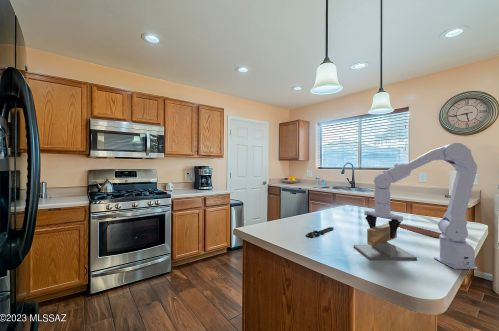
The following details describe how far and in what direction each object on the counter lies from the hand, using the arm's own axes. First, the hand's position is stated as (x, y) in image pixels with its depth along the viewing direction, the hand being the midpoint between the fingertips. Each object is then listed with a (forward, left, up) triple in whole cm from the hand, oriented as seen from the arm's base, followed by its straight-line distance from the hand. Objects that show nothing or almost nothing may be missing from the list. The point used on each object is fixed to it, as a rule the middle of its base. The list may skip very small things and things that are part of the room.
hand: (382, 235), depth 95 cm
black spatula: (+30, +16, -8) cm, 35 cm away
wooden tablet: (+32, -38, -8) cm, 50 cm away
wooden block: (0, 0, -2) cm, 2 cm away
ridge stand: (0, 0, -7) cm, 7 cm away
